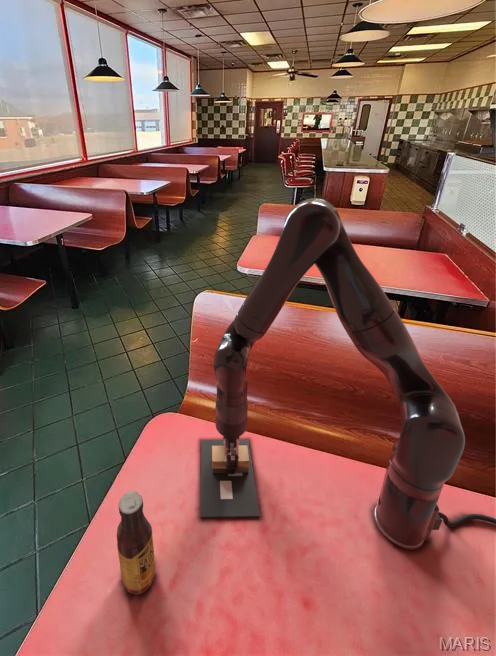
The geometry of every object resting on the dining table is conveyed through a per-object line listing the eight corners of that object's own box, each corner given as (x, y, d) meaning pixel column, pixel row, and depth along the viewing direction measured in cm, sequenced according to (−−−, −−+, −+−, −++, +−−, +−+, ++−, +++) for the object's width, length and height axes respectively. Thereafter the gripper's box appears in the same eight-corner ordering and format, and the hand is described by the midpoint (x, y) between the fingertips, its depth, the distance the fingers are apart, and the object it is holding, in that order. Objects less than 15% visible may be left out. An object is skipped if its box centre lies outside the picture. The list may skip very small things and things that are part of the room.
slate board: (248, 440, 91) (248, 439, 91) (259, 517, 72) (259, 516, 72) (201, 441, 91) (201, 440, 91) (200, 518, 72) (200, 516, 72)
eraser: (246, 456, 86) (247, 445, 84) (248, 472, 81) (249, 461, 80) (212, 456, 86) (212, 445, 84) (212, 473, 81) (212, 461, 80)
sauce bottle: (149, 600, 59) (139, 529, 52) (116, 592, 60) (103, 521, 53) (160, 558, 65) (154, 489, 58) (131, 551, 66) (121, 483, 59)
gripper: (251, 436, 70) (248, 490, 77) (244, 389, 84) (242, 439, 90) (216, 436, 70) (216, 491, 77) (214, 389, 84) (214, 439, 90)
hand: (230, 462), depth 83 cm, fingers closed on eraser, 4 cm apart
